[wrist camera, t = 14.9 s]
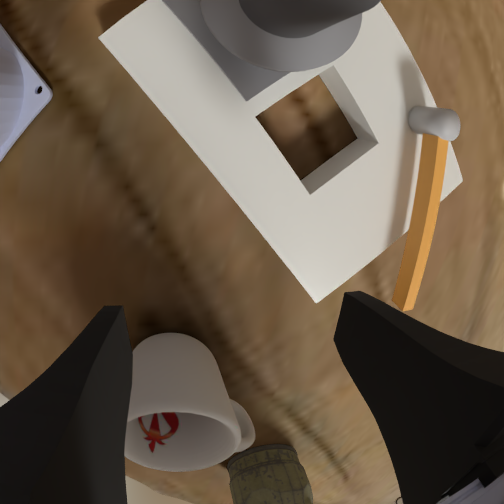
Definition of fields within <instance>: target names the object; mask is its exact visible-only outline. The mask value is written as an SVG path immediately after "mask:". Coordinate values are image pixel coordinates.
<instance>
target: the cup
mask: <svg viewBox="0 0 504 504" xmlns="http://www.w3.org/2000/svg"><path fill="white" fill-rule="evenodd" d="M132 353H133V374H132V389H131V396H130V403H129V411H128V419H127V427H126V436H125V451H124V456H125V457H126V458H128V459H129V460H131V461H133V462H135V463H137V464H140V465H142V466H145V467H148V468H152V469H157V470H163V471H178V472H182V471H193V470H199V469H204V468H207V467H211V466H214V465H216V464H218V463H221V462H222V461H224V460H226V459H227V458H229V457H230V456H231V455H232V454H233V453H235V452H241V451H243V450H245V449H247V448H249V447H250V446H251V445H252V444H253V443H254V440H255V430H254V426H253V423H252V421H251V419H250V417H249V415H248V413H247V412H246V411H245V409H244V408H243V407H242V406H241V405H240V404H238V403H237V402H235V401H234V400H231V399H229V396H228V393H227V391H226V388H225V385H224V382H223V379H222V376H221V373H220V370H219V367H218V365H217V362H216V360H215V358H214V356H213V354H212V353H211V352H210V350H209V349H208V348H207V347H206V346H205V345H204V344H203V343H201V342H200V341H199V340H197V339H195V338H193V337H191V336H188V335H185V334H180V333H161V334H157V335H153V336H151V337H148V338H147V339H145V340H143V341H142V342H141V343H140V344H138V345H137V347H136V348H135V349H134V350H133V352H132Z"/></svg>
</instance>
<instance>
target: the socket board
mask: <svg viewBox="0 0 504 504" xmlns="http://www.w3.org/2000/svg"><path fill="white" fill-rule="evenodd" d="M98 38H99V39H100V40H101V41H102V43H103V44H104V45H105V46H106V47H107V48H108V50H109V51H110V52H111V53H112V54H113V55H114V57H115V58H116V59H117V60H118V61H119V62H120V64H121V65H122V66H123V67H124V68H125V69H126V71H127V72H128V73H129V74H130V75H131V76H132V78H133V79H134V80H135V81H136V82H137V83H138V85H139V86H140V87H141V88H142V89H143V91H144V92H145V93H146V94H147V95H148V96H149V98H150V99H151V100H152V101H153V102H154V104H155V105H156V106H157V107H158V108H159V110H160V111H161V112H162V113H163V114H164V116H165V117H166V118H167V119H168V120H169V122H170V123H171V124H172V125H173V126H174V128H175V129H176V130H177V131H178V132H179V134H180V135H181V136H182V137H183V138H184V140H185V141H186V142H187V143H188V144H189V146H190V147H191V148H192V149H193V150H194V152H195V153H196V154H197V155H198V157H199V158H200V159H201V160H202V161H203V163H204V164H205V165H206V166H207V167H208V169H209V170H210V171H211V172H212V174H213V175H214V176H215V177H216V178H217V180H218V181H219V182H220V183H221V185H222V186H223V187H224V188H225V190H226V191H227V192H228V193H229V194H230V196H231V197H232V198H233V199H234V201H235V202H236V203H237V204H238V206H239V207H240V208H241V209H242V211H243V212H244V213H245V214H246V215H247V217H248V218H249V219H250V220H251V222H252V223H253V224H254V225H255V227H256V228H257V229H258V230H259V232H260V233H261V234H262V235H263V237H264V238H265V239H266V240H267V242H268V243H269V244H270V245H271V247H272V248H273V249H274V250H275V252H276V253H277V254H278V255H279V257H280V258H281V259H282V261H283V262H284V263H285V264H286V266H287V267H288V268H289V269H290V271H291V272H292V273H293V274H294V276H295V277H296V278H297V279H298V281H299V282H300V283H301V285H302V286H303V287H304V288H305V290H306V291H307V292H308V293H309V295H310V296H311V297H312V299H313V300H314V301H315V302H316V303H318V302H319V301H320V300H322V299H323V298H324V297H326V296H327V295H328V294H330V293H331V292H332V291H334V290H335V289H336V288H338V287H339V286H340V285H341V284H343V283H344V282H345V281H347V280H348V279H349V278H350V277H352V276H353V275H354V274H356V273H357V272H358V271H359V270H361V269H362V268H363V267H364V266H366V265H367V264H368V263H369V262H371V261H372V260H373V259H374V258H376V257H377V256H378V255H379V254H380V253H382V252H383V251H384V250H385V249H386V248H388V247H389V246H390V245H391V244H393V243H394V242H395V241H396V240H397V239H398V238H400V237H401V236H402V235H403V234H404V233H406V232H407V231H408V230H409V226H410V220H411V215H412V209H413V204H414V198H415V191H416V185H417V178H418V171H419V163H420V155H421V146H422V136H423V135H421V134H417V133H415V132H413V131H412V129H411V128H410V125H409V120H408V117H409V113H410V111H411V109H412V108H413V107H415V106H426V107H435V108H437V106H436V104H435V102H434V99H433V97H432V95H431V93H430V90H429V88H428V86H427V84H426V82H425V80H424V78H423V75H422V73H421V71H420V69H419V67H418V65H417V63H416V61H415V60H414V58H413V56H412V54H411V52H410V50H409V48H408V46H407V45H406V43H405V41H404V39H403V38H402V36H401V34H400V32H399V31H398V29H397V27H396V26H395V24H394V22H393V21H392V19H391V17H390V16H389V14H388V13H387V11H386V10H385V8H384V6H383V5H382V3H381V2H379V3H378V4H377V5H376V6H375V7H373V8H372V9H370V10H368V11H365V12H363V13H362V22H361V27H360V30H359V33H358V36H357V37H356V39H355V41H354V43H353V44H352V45H351V47H350V48H349V49H348V50H347V51H346V52H345V53H344V54H343V55H342V56H341V57H339V58H338V59H336V60H335V61H333V62H331V63H329V64H327V65H324V66H321V67H318V68H315V69H310V70H306V71H299V72H279V71H272V70H268V69H264V68H260V67H257V66H255V65H252V64H250V63H248V62H246V61H244V60H242V59H240V58H238V57H237V56H235V55H234V54H232V53H231V52H229V51H228V50H227V49H226V48H225V47H223V46H222V45H221V44H220V43H219V41H218V40H217V39H216V38H215V37H214V36H213V34H212V33H211V31H210V30H209V28H208V26H207V25H206V23H205V20H204V18H203V15H202V12H201V7H200V0H147V1H146V2H144V3H143V4H141V5H140V6H138V7H137V8H136V9H134V10H133V11H131V12H130V13H129V14H127V15H126V16H125V17H123V18H122V19H121V20H119V21H118V22H117V23H116V24H114V25H113V26H112V27H110V28H109V29H108V30H107V31H106V32H104V33H103V34H102V35H101V36H99V37H98ZM318 74H319V76H320V77H321V79H322V80H323V82H324V84H325V85H326V87H327V88H328V90H329V91H330V93H331V94H332V96H333V98H334V99H335V101H336V102H337V104H338V106H339V107H340V109H341V111H342V112H343V114H344V116H345V117H346V119H347V121H348V122H349V124H350V126H351V128H352V129H353V131H354V133H355V135H356V136H357V139H356V140H355V141H353V142H352V143H351V144H349V145H348V146H346V147H345V148H344V149H342V150H341V151H340V152H338V153H337V154H336V155H334V156H333V157H332V158H330V159H329V160H327V161H326V162H325V163H323V164H322V165H321V166H319V167H318V168H317V169H315V170H314V171H313V172H311V173H310V174H309V175H307V176H306V177H305V178H303V179H302V180H301V181H300V179H299V178H298V177H297V175H296V174H295V172H294V171H293V169H292V168H291V166H290V165H289V163H288V162H287V161H286V159H285V158H284V156H283V155H282V153H281V152H280V151H279V149H278V148H277V146H276V145H275V144H274V142H273V141H272V139H271V138H270V137H269V135H268V134H267V132H266V131H265V130H264V128H263V127H262V126H261V124H260V123H259V122H258V120H257V119H256V116H257V115H258V114H260V113H261V112H263V111H264V110H265V109H267V108H268V107H270V106H271V105H273V104H274V103H276V102H277V101H278V100H280V99H281V98H283V97H284V96H286V95H287V94H289V93H290V92H292V91H293V90H295V89H296V88H298V87H299V86H301V85H303V84H304V83H306V82H307V81H309V80H310V79H312V78H313V77H315V76H317V75H318ZM462 181H463V179H462V176H461V172H460V169H459V166H458V163H457V160H456V157H455V154H454V151H453V148H452V145H451V142H450V141H449V142H448V151H447V159H446V166H445V173H444V180H443V186H442V192H441V198H440V202H441V201H442V200H443V199H444V198H445V197H446V196H447V195H448V194H449V193H451V192H452V191H453V190H454V189H455V188H456V187H457V186H458V185H459V184H460V183H461V182H462Z"/></svg>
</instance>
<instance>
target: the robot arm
mask: <svg viewBox="0 0 504 504" xmlns="http://www.w3.org/2000/svg"><path fill="white" fill-rule="evenodd" d="M40 86H42V92H41V93H40V94H38V92H37V91H38V88H39V87H40ZM52 95H53V94H52V90H51V89H50V87H49V86H48V85H47V84H46V82H45V81H44V80H43V79H42V77H41V76H40V75H39V74H38V72H37V71H36V70H35V69H34V67H33V66H32V65H31V63H30V62H29V61H28V60H27V58H26V57H25V56H24V54H23V53H22V52H21V51H20V49H19V48H18V47H17V45H16V44H15V43H14V41H13V40H12V39H11V37H10V36H9V35H8V33H7V32H6V31H5V29H4V28H3V27H2V25H1V24H0V162H1V161H2V159H3V158H4V156H5V155H6V154H7V152H8V151H9V150H10V148H11V147H12V146H13V144H14V143H15V142H16V140H17V139H18V138H19V137H20V135H21V134H22V133H23V132H24V130H25V129H26V128H27V127H28V125H29V124H30V123H31V122H32V121H33V120H34V118H35V117H36V116H37V115H38V114H39V113H40V111H41V110H42V109H43V108H44V107H45V106H46V105H47V104H48V103H49V102H50V100H51V99H52ZM334 342H335V345H336V347H337V350H338V352H339V355H340V357H341V359H342V362H343V364H344V366H345V367H346V369H347V371H348V372H349V374H350V376H351V378H352V379H353V381H354V383H355V384H356V386H357V388H358V389H359V391H360V393H361V394H362V396H363V398H364V400H365V401H366V403H367V405H368V406H369V408H370V410H371V412H372V414H373V416H374V417H375V419H376V422H377V424H378V426H379V429H380V431H381V434H382V436H383V438H384V441H385V444H386V446H387V449H388V452H389V454H390V457H391V460H392V463H393V467H394V470H395V473H396V477H397V480H398V484H399V488H400V492H401V497H402V501H403V504H504V352H500V351H495V350H491V349H487V348H484V347H481V346H477V345H474V344H471V343H468V342H465V341H462V340H459V339H457V338H454V337H452V336H449V335H447V334H444V333H442V332H440V331H438V330H436V329H434V328H431V327H429V326H427V325H425V324H423V323H421V322H419V321H417V320H415V319H413V318H412V317H410V316H408V315H406V314H404V313H402V312H400V311H399V310H397V309H395V308H393V307H391V306H389V305H388V304H386V303H384V302H382V301H380V300H378V299H376V298H374V297H372V296H370V295H368V294H366V293H364V292H361V291H354V292H345V293H344V298H343V302H342V306H341V311H340V315H339V319H338V323H337V327H336V331H335V335H334ZM132 374H133V353H132V349H131V344H130V340H129V335H128V330H127V325H126V320H125V314H124V309H123V306H104V307H103V308H102V309H101V310H100V311H99V312H98V313H97V315H96V316H95V317H94V318H93V319H92V320H91V322H90V323H89V324H88V325H87V326H86V328H85V329H84V330H83V331H82V332H81V333H80V335H79V336H78V337H77V338H76V339H75V340H74V341H73V343H72V344H71V345H70V346H69V347H68V348H67V349H66V350H65V351H64V352H63V353H62V354H61V355H60V357H59V358H58V359H57V360H56V361H55V362H54V363H53V364H52V365H51V366H50V367H49V368H48V369H47V370H46V371H45V372H44V373H43V374H42V375H40V376H39V377H38V378H37V379H36V380H35V381H34V382H32V383H31V384H30V385H29V386H28V387H27V388H25V389H24V390H23V391H21V392H20V393H19V394H17V395H16V396H15V397H13V398H12V399H11V400H9V401H8V402H7V403H6V404H4V405H3V406H2V407H0V504H127V495H126V483H125V458H124V451H125V436H126V427H127V419H128V411H129V403H130V396H131V389H132Z"/></svg>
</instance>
